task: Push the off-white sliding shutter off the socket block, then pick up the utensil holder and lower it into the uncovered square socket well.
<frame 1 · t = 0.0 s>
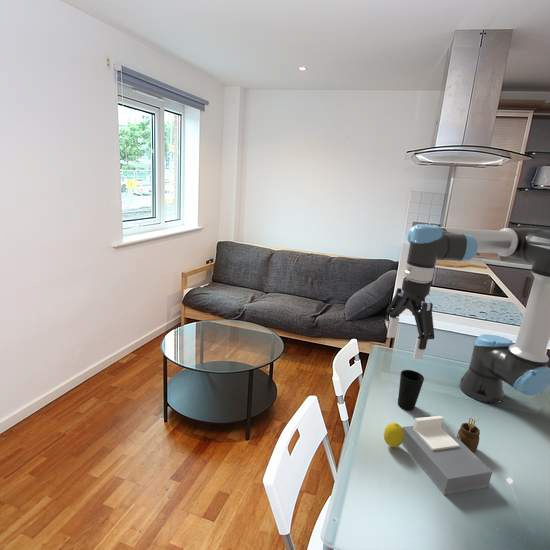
hand: (403, 347, 114), 28 cm above the table, fingers open, 13 cm apart
socket block: (440, 462, 109), on the table
shutter: (436, 432, 110), point 7 cm above the table, slide at 0.0 cm
cup: (405, 406, 134), on the table
utensil holder: (465, 448, 116), on the table
lemon: (391, 447, 113), on the table
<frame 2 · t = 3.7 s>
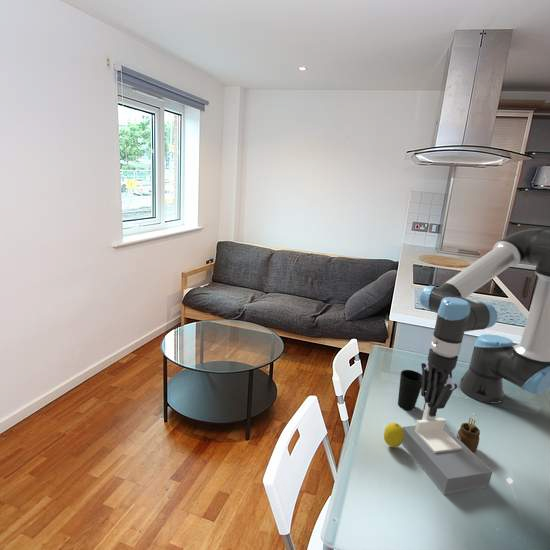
hand: (426, 422, 114), 7 cm above the table, fingers closed
shutter: (438, 434, 109), point 7 cm above the table, slide at 0.9 cm, touching gripper
everything else where it was.
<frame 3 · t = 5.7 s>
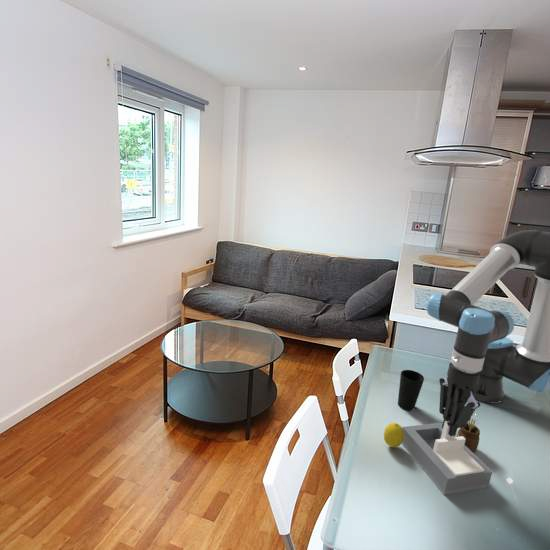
hand: (445, 441, 107), 7 cm above the table, fingers closed
shutter: (459, 455, 102), point 7 cm above the table, slide at 9.2 cm, touching gripper
everything else where it was.
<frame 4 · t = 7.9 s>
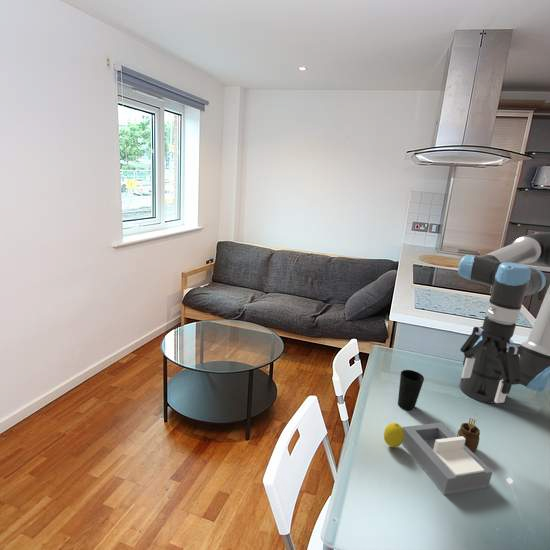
hand: (481, 389, 110), 20 cm above the table, fingers open, 12 cm apart
shutter: (459, 455, 102), point 7 cm above the table, slide at 9.2 cm
everything else where it was.
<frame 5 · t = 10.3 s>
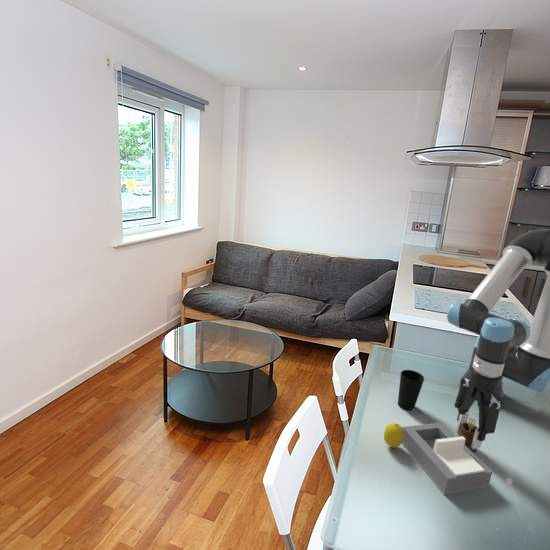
hand: (467, 439, 115), 3 cm above the table, fingers closed on utensil holder, 6 cm apart
utensil holder: (465, 448, 116), on the table, touching gripper
everything else where it was.
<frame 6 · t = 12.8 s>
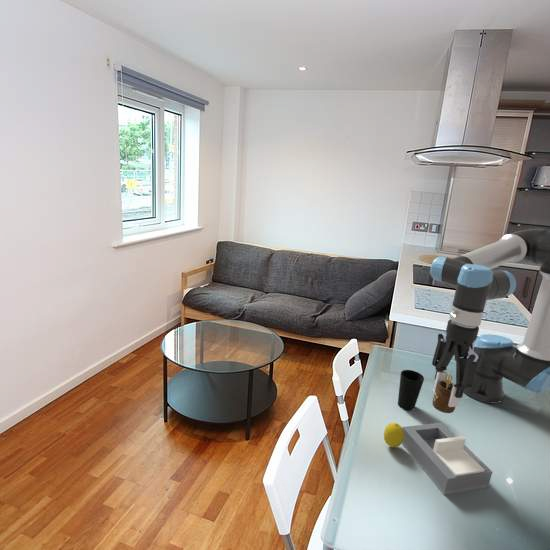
hand: (445, 398, 107), 18 cm above the table, fingers closed on utensil holder, 6 cm apart
utensil holder: (442, 408, 108), point 15 cm above the table, touching gripper
everything else where it was.
when the fingers open (6 cm above the table, at t = 15.2 s): utensil holder drops 2 cm, resting on socket block.
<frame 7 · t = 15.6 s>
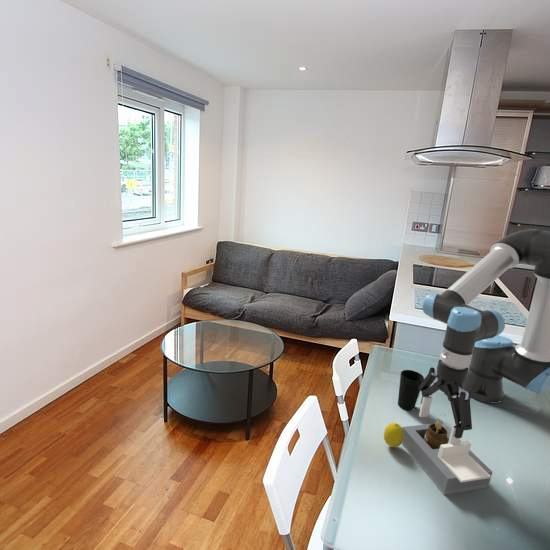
hand: (437, 429, 110), 8 cm above the table, fingers open, 12 cm apart
shutter: (464, 460, 100), point 7 cm above the table, slide at 11.2 cm, touching gripper
utensil holder: (432, 450, 112), point 1 cm above the table, touching socket block
everything else where it was.
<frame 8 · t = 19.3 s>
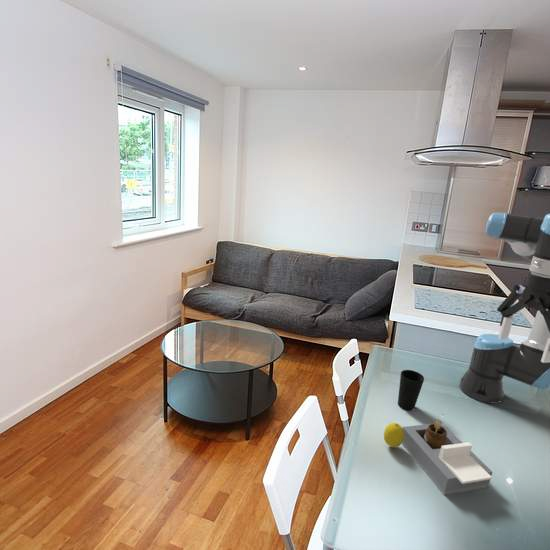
hand: (523, 349, 104), 35 cm above the table, fingers open, 13 cm apart
shutter: (465, 462, 100), point 7 cm above the table, slide at 11.6 cm
everything else where it was.
at the end: shutter slide at 11.6 cm; utensil holder 0.0 cm from the target spot on the socket block, point 0.8 cm above the socket block's base; utensil holder touching socket block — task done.
